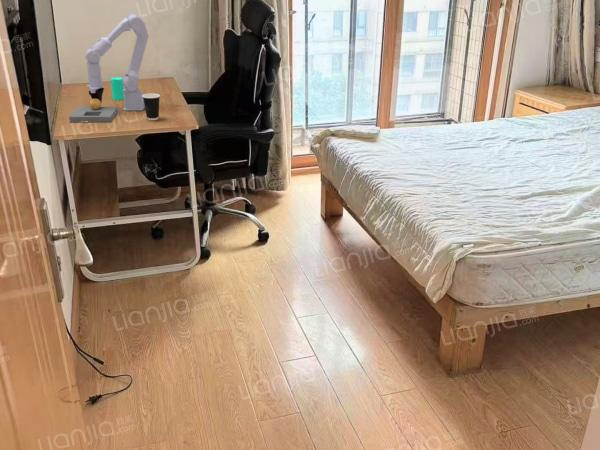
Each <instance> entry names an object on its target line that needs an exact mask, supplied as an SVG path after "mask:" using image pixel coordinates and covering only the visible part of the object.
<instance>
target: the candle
mask: <svg viewBox="0 0 600 450" xmlns="http://www.w3.org/2000/svg"><path fill="white" fill-rule="evenodd" d="M115 76H116V77H111V78H110V86H111V94H112V95H111V96H112V97H111V98H112V100H114V101H124V94H123V89H124V87H125V86H124V85H123V84H122V79H123V77H118V76H117V75H115Z"/></svg>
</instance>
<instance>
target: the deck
mask: <svg viewBox="0 0 600 450" xmlns="http://www.w3.org/2000/svg"><path fill="white" fill-rule="evenodd" d="M118 113H119V111H118V106H101V107H100V108H99V109H93V108H92V107H91V106H78V107H77V108H76V109H75V110H74V111H73V112H72V113H71V114H70V115H69V123H82V122H81V121H88V122H87V123H112V121H113V120H114V118H115V117H116V116H117V114H118Z"/></svg>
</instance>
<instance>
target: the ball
mask: <svg viewBox="0 0 600 450" xmlns="http://www.w3.org/2000/svg"><path fill="white" fill-rule="evenodd" d="M89 107H92V108H93V109H99V108H100V107H102V102H100V100H99V99H96V98H94V99H92V98H91V99H90V101H89Z"/></svg>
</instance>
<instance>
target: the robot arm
mask: <svg viewBox="0 0 600 450" xmlns="http://www.w3.org/2000/svg"><path fill="white" fill-rule="evenodd" d="M146 27H147V26H146V22H145V21H144V20H143V19H142V18H141V17H140V16H139V15H137V14H136V13H130V14H128V15H127V16H126V17H124V18H123V19H122V20H121V21H119V23H118V24H117V25H116V26H115V28H114V29H113V30H112V31H111V32H110V33H109V34H108V35H107V36H106V37H105V36H104V37H99V38H98V39H97V42H96V43H95V44H94V45H93V46H92V45H91V46H90V49H87V50H86V51H85V59H86V60H87V61H86V64H87V66H86V67H87V74H88V75H87V76H88V84H87V85H86V87H87V88H89V89H90V90H89V91H88V94H89V95H90V97H91V100H92V99H94V98H96V99H99V100H100V102H101V103H102V100H103V93H104V90H105V88H104V87H103V81H102V80H103V79H102V72H101V65H100V62H101V57H103V56H105V54H106V53H107V52H108V51H109V50H110V49H111V48H112V44H113V42H114V41H115V40H116V39H118V37H120V36H121V35H122V34H124V32H130V31H133V33H134V34H135V36H136V39H135V44H134V47H133V51H132V53H131V58H130V62H129V65H128V67H127V68H128V69H127V70H126V73H125V75H124V76H123V77H122V78H123V79H122V84H123V86H124V89H123V94H124V99H123V102H124V107H123V108H122V111H144V109H145V105H144V100H143V97H142V95H144V94H145V93H144V91H143V90H139V78H140V77H139V72H140V69H141V66H142V61H143V59H144V54H145V50H146V48H147V45H148V39H149V34H148V30H147V28H146Z"/></svg>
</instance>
